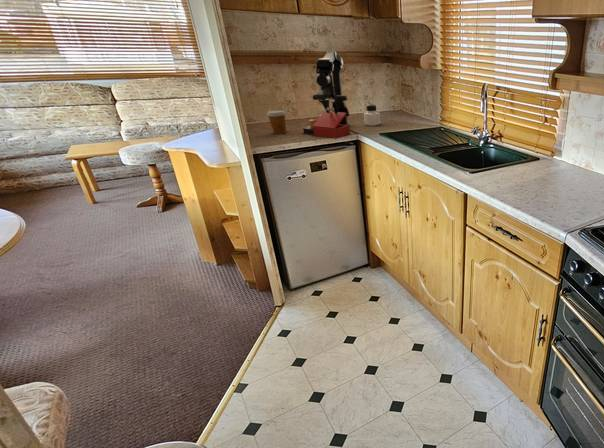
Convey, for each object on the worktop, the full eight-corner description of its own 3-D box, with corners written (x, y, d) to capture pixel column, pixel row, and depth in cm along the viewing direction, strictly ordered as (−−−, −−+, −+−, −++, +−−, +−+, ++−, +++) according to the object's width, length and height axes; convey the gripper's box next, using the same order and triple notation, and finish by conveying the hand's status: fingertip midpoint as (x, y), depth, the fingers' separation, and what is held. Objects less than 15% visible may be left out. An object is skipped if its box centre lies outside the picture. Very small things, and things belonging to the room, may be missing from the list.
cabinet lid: (325, 111, 231) (321, 104, 227) (346, 113, 226) (343, 106, 222) (312, 126, 223) (308, 119, 219) (334, 129, 219) (330, 122, 215)
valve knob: (309, 127, 230) (308, 120, 228) (310, 126, 233) (309, 118, 232) (317, 127, 230) (316, 120, 228) (318, 126, 234) (317, 118, 232)
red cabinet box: (329, 131, 236) (327, 123, 234) (350, 133, 231) (348, 125, 229) (314, 135, 225) (312, 127, 223) (335, 138, 221) (334, 129, 219)
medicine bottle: (381, 124, 257) (379, 104, 252) (372, 126, 251) (370, 106, 246) (372, 122, 260) (371, 103, 255) (364, 124, 255) (362, 105, 250)
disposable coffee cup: (292, 131, 235) (288, 110, 230) (283, 134, 226) (279, 113, 221) (276, 130, 235) (272, 109, 230) (267, 134, 227) (262, 112, 222)
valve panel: (314, 130, 239) (314, 124, 237) (326, 131, 236) (326, 125, 235) (302, 133, 230) (301, 127, 229) (314, 134, 228) (314, 129, 226)
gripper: (303, 85, 214) (308, 114, 221) (332, 87, 209) (336, 117, 216) (317, 82, 224) (322, 111, 231) (345, 84, 218) (349, 113, 225)
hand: (332, 113), depth 225 cm, fingers closed on cabinet lid, 5 cm apart
